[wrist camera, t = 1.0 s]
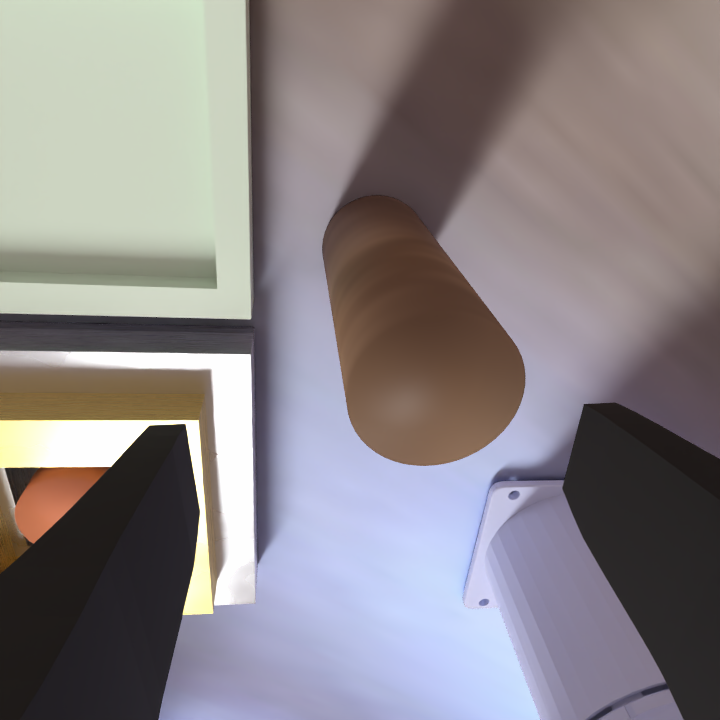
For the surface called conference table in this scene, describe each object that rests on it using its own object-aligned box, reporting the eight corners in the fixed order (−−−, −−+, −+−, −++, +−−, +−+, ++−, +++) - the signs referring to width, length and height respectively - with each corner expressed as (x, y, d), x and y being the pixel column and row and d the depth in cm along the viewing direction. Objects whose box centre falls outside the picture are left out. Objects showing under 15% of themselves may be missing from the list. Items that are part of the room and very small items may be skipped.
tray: (248, -63, 14) (244, -75, 13) (253, 300, 19) (251, 319, 18) (-195, -115, 13) (-251, -134, 11) (-68, 291, 18) (-96, 310, 16)
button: (130, 455, 19) (120, 479, 18) (141, 530, 21) (133, 555, 20) (18, 456, 19) (3, 480, 18) (40, 533, 21) (26, 558, 19)
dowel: (433, 198, 18) (544, 314, 10) (419, 298, 20) (504, 464, 12) (325, 192, 17) (353, 309, 10) (319, 295, 19) (340, 466, 11)
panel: (254, 327, 19) (247, 378, 16) (257, 565, 25) (253, 635, 22) (-127, 318, 18) (-212, 374, 15) (-29, 574, 24) (-77, 653, 21)
